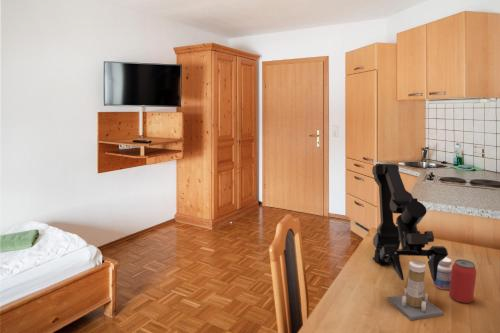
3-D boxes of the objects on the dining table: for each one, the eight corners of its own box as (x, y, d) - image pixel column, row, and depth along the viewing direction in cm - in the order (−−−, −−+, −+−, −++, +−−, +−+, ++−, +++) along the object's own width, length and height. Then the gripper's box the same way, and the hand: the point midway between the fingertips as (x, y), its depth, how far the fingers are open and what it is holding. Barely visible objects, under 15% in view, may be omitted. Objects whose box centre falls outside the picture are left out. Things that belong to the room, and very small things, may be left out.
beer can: (464, 292, 118) (468, 258, 115) (477, 303, 111) (482, 267, 109) (444, 292, 117) (448, 258, 115) (456, 304, 111) (461, 268, 109)
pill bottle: (435, 280, 126) (437, 254, 124) (452, 285, 122) (455, 258, 121) (431, 286, 121) (434, 259, 120) (449, 291, 118) (452, 264, 116)
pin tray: (417, 295, 116) (418, 284, 115) (442, 315, 105) (444, 302, 104) (387, 300, 113) (388, 288, 112) (410, 320, 103) (411, 307, 102)
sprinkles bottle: (415, 298, 112) (419, 258, 109) (425, 306, 107) (429, 265, 104) (402, 300, 111) (406, 260, 108) (412, 309, 106) (415, 267, 104)
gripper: (384, 219, 109) (393, 270, 100) (448, 221, 107) (463, 272, 99) (376, 234, 118) (383, 282, 109) (434, 236, 117) (447, 284, 108)
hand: (418, 280), depth 106 cm, fingers open, 9 cm apart
